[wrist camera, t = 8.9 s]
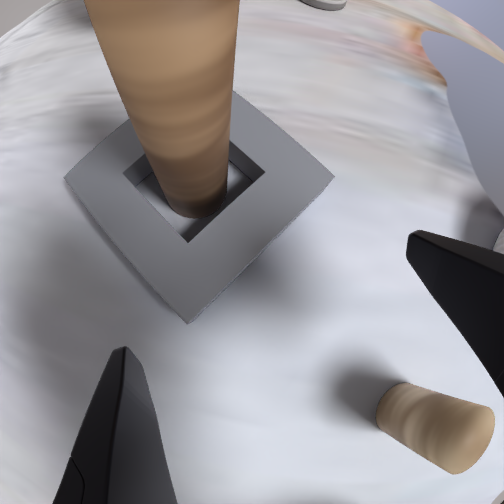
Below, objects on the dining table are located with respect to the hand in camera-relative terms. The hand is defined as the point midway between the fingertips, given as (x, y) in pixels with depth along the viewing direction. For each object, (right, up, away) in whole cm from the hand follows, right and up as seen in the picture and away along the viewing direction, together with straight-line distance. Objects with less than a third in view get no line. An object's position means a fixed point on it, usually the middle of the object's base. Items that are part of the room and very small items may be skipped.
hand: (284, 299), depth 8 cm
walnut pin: (-4, +5, +11) cm, 13 cm away
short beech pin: (+10, -10, +10) cm, 17 cm away
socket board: (-5, +5, +11) cm, 13 cm away
